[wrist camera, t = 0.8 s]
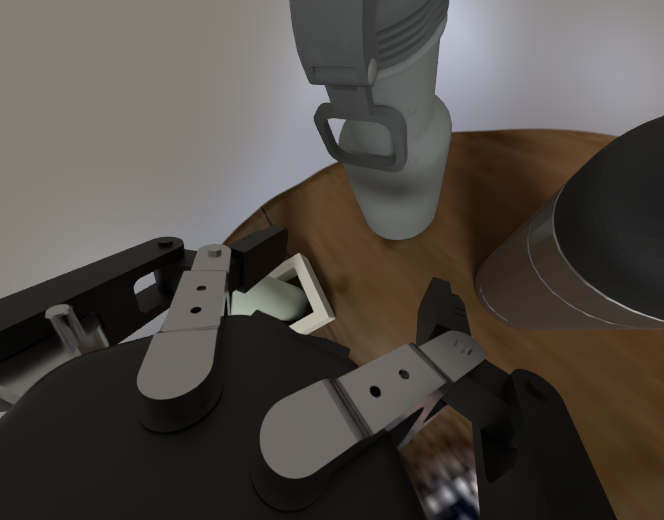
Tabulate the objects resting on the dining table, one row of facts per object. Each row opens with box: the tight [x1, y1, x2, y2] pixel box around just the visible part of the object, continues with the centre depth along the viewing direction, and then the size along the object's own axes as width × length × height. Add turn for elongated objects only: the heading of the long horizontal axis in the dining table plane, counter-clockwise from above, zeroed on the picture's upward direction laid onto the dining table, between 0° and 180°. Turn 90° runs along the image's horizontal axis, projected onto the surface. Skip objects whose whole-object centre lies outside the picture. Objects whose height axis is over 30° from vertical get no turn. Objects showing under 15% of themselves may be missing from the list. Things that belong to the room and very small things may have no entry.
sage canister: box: [232, 276, 308, 321], centre depth 28 cm, size 5×5×16 cm
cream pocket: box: [267, 253, 336, 335], centre depth 34 cm, size 10×10×3 cm
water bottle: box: [289, 0, 452, 240], centre depth 21 cm, size 10×10×28 cm
